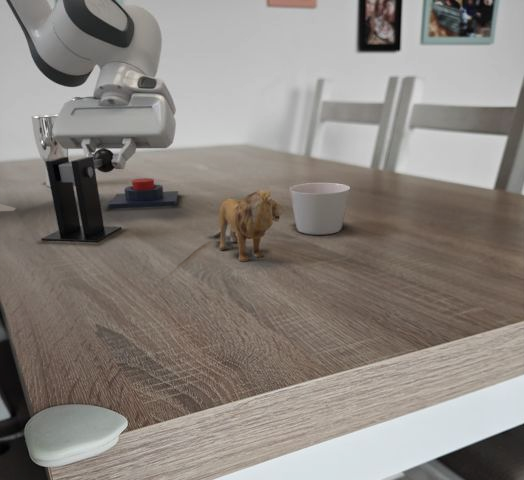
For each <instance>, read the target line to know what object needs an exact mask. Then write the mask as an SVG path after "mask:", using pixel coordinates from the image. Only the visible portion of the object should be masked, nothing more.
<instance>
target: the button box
mask: <svg viewBox="0 0 524 480" xmlns="http://www.w3.org/2000/svg"><path fill="white" fill-rule="evenodd" d="M154 187H155V188H153V189H147V190H133V186H132V185H130V186H126V187H125V188H124V193H123V192H122V193H116V194H115V195H114V196H113V198H112V199H111V201H109V203H108V209H109V210H112V209H113V210H114V209H135V208H153V207H154V208H155V207H156V208H157V207H177V203H178V199H179V195H180V193H179V191H178V190H171V191H170V190H169V191H164V187H163V185H161V184H155V183H154Z"/></svg>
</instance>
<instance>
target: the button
mask: <svg viewBox="0 0 524 480" xmlns="http://www.w3.org/2000/svg"><path fill="white" fill-rule="evenodd" d="M131 184H132V185H131V186H133V190H147V189H153V188H155V187H154V184H155V179H154V178H149V177H147V178H146V177H144V178H136V179H135V178H134V179H133V180H131Z"/></svg>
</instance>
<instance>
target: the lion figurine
mask: <svg viewBox="0 0 524 480" xmlns="http://www.w3.org/2000/svg"><path fill="white" fill-rule="evenodd" d="M284 208H285V207H283V206H282V205H280V204H278V203H277V202H276V200H274V199H273V198H272V196H271V191H270V190H266V189H262V190H261V189H259V190H256V191H254V192H252V193H250V194H247V196H246V197H244V198H242V199H240V201H239V200H237V199H235V198H227V199H226V200H224V201H222V203H221V205H220V207H219V213H218V214H219V215H218V218H219V227H220V231H219V232H217V233H216V234H215V235H213V238H215V239H219V238H220V239H219V241H220V243H219V247H218V250H221V251H225V250H227V249H228V245H227V241H226V240H227V230H228V226H229V229H230V233H229V240H230V242H231V243H237V248H238V261H240V262H247V261H249V256H248V253H247V250H246V243H247V242H246V241H247V239H248V240H252V247H251V252H252V255H253V256H254V257H256V258H262V257H263V256H264V252H263V251H260V243H261V238H263V237H264V236H265V234H266V232H267V231H268V230H270V229H271V228H272V226H273V221H274V222H279V221H280V217H281V216H282V214H283V212H284Z"/></svg>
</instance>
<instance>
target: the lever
mask: <svg viewBox="0 0 524 480" xmlns="http://www.w3.org/2000/svg"><path fill="white" fill-rule="evenodd" d="M93 154H94V156H93V161H94V167H95V168H96V169H97V171H99V172H101V173H111V172H112V171H113V170H115V168H114V166H113V165H112V163H111V161H112V159H113V154H114V152H112V151H111V150H110V149H96V151H95V153H93ZM58 166H59V171H60V176H61V181H62V182H73V183H75V181H74V175H73V169H72V164H71V161H69V162H67V163H63V164H60V165H58Z"/></svg>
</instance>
